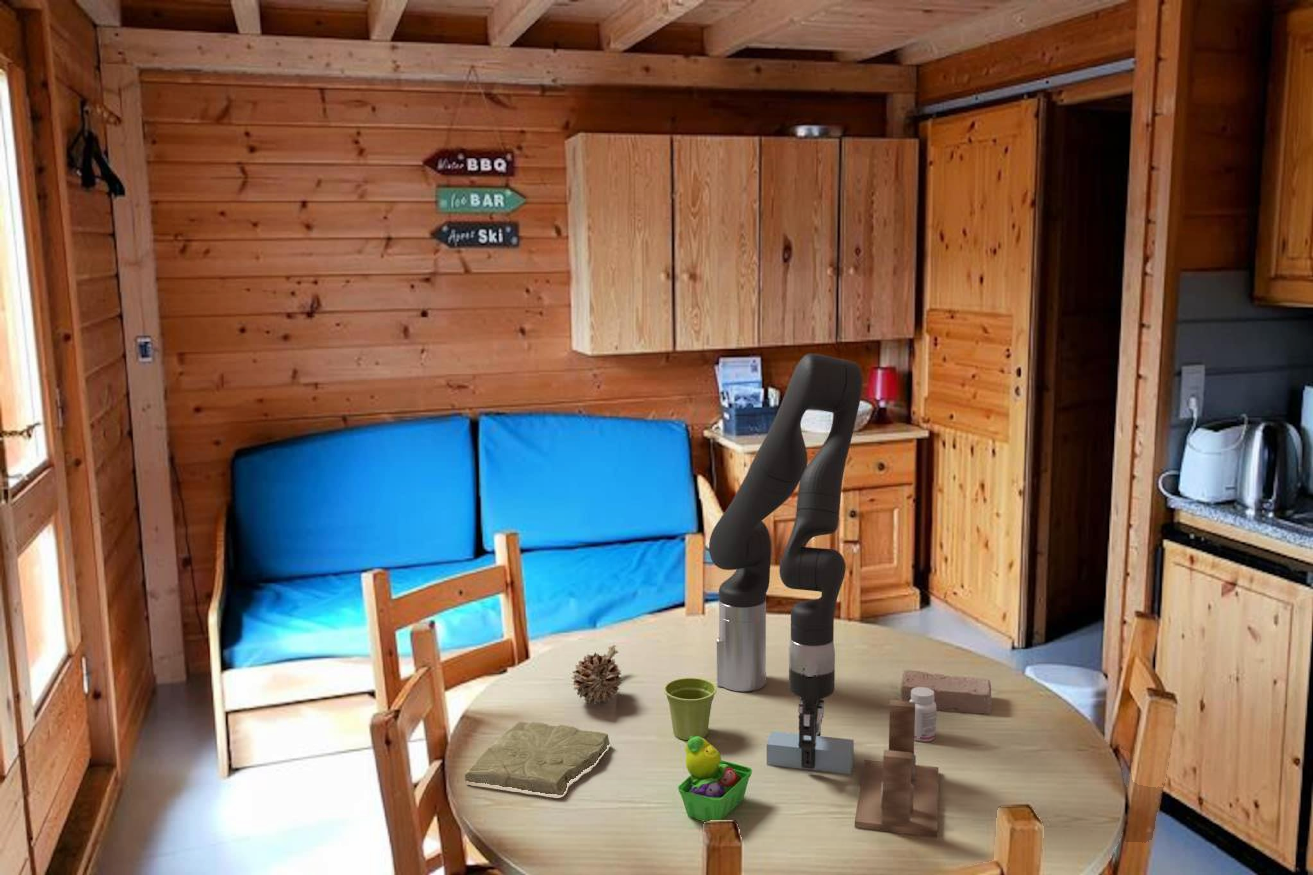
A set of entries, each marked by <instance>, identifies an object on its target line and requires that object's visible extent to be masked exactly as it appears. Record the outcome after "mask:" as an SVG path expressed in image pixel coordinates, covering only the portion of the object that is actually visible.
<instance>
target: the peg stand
mask: <svg viewBox="0 0 1313 875" xmlns="http://www.w3.org/2000/svg"><path fill="white" fill-rule="evenodd" d="M888 720H889V723H888V724H889V726H888V727H889V728H888V749H883V755H882V756H883V759H882V760H873V759H864V761H863V767H862V772H861V780H860V785H859V786H860V787H859V792H858V799H857V802H856V804H857V805H856V810H855V811H856V812H855V817H854V828H857V829H865V830H873V831H882V832H889V833H890V832H891V833H898V834H899V833H900V834H907V835H915V836H916V835H917V836H923V837H924V836H925V837H932V838H937V837H938V808H939V807H938V806H939V804H938V802H939V767H938V766H931V765H923V764H922V765H920V764H917V763H916V758H917V756H916V755H915V740H914V732H915V702H906V701H901V700H895V699H892V700H891V699H890V700H889V719H888Z"/></svg>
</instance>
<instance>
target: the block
mask: <svg viewBox="0 0 1313 875" xmlns="http://www.w3.org/2000/svg"><path fill="white" fill-rule="evenodd" d="M804 740H811V736H806V735H805V736H804ZM798 743H799V733H791V732H783V731H770V734H769V737H768V739H767V743H766V766H775V767H783V768H791V767H792V769H800V770H801V769H803V770H809V769H810V768H803V767H802V765H801V754H802V748H799V746H798ZM816 743H817V746H816V748H815V767H814V768H813V769H812V770H811V771H818V770H823V771H822V772H827V771H831V772H830V773H836V772H840V774H845V773H847V775H852V770H853V763H854V756H855V755H854V754H855V753H854V750H855V747H854V745H855V740H854V739H849V738H842V737H841V738H840V737H831V736H823V735H821V736H816Z"/></svg>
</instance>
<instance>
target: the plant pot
mask: <svg viewBox="0 0 1313 875" xmlns="http://www.w3.org/2000/svg"><path fill="white" fill-rule="evenodd" d="M717 687H718V686H717V684H715V683H713V682H712V681H710V680H708V679H705V678H701V677H681V678H677V679H673V680H671V681H669V682H668V683H666V684H665V685H664V687H663V691H664V694H665V695H666V699H667V701H668V703H669V711H670V718H671V725H672V732H673V735H674V736H675V737H676V738H678V739H680V740H684V741H688V740H689V739H690V737H691V736H694V737H696V736H699V737H701V738H704V739H705V737H706V736H708V735H707V734H708V732H709V725H710V717H711V711H712V710H711V709H712V703H713V700H714V698H715V695H716V693H717V691H718V688H717Z"/></svg>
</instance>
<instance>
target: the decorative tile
mask: <svg viewBox="0 0 1313 875" xmlns="http://www.w3.org/2000/svg"><path fill="white" fill-rule="evenodd" d="M609 744H610V738H609V735H608V733H606V732H600V731H593V730H583V729H582V730H581V729H579V728H577V727H576V726H575V727H574V726H570V725H567V724H566V725H565V724H559V725H550V724H547V723H544V722H538V721H536V722H535V721H533V722H525V721H517V722H516V723H515V724H514V725H513V726H511V727H510V728H508V730H507V731H506V732H504V733H503V734H502V735H501V736H500V737H499V738H498V739H496V741H495V742H494V743H492V744H491V745H490V747H488V748H486V749H485V751H484V752H483V753H482V754H481V755H480V756H479V757H478V758H477V759H476V760H475V761H474V763H473V764H472V765H471V766H470V767H469V768H468V769H467V770H466V772H465V774H464V780H465V781H469V782H475V783H485V784H486V783H487V784H490V785H499V786H502V787H512V788H517V789H521V790H528V791H532V792H540V793H545V794H557V795H563V794H564V792H565V791H566V788H567V783H569V781H570V780H571V779H574V778H576V776H578V775H579V774H581V772H583V770H585V769H587V768H589V767H590V766H592V765H594V763H596V761H597V760H598V758H599V757H600V756H601V755H602V753H603V752H604V751H605V750H606V749H607V745H609ZM610 745H611V744H610Z"/></svg>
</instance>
